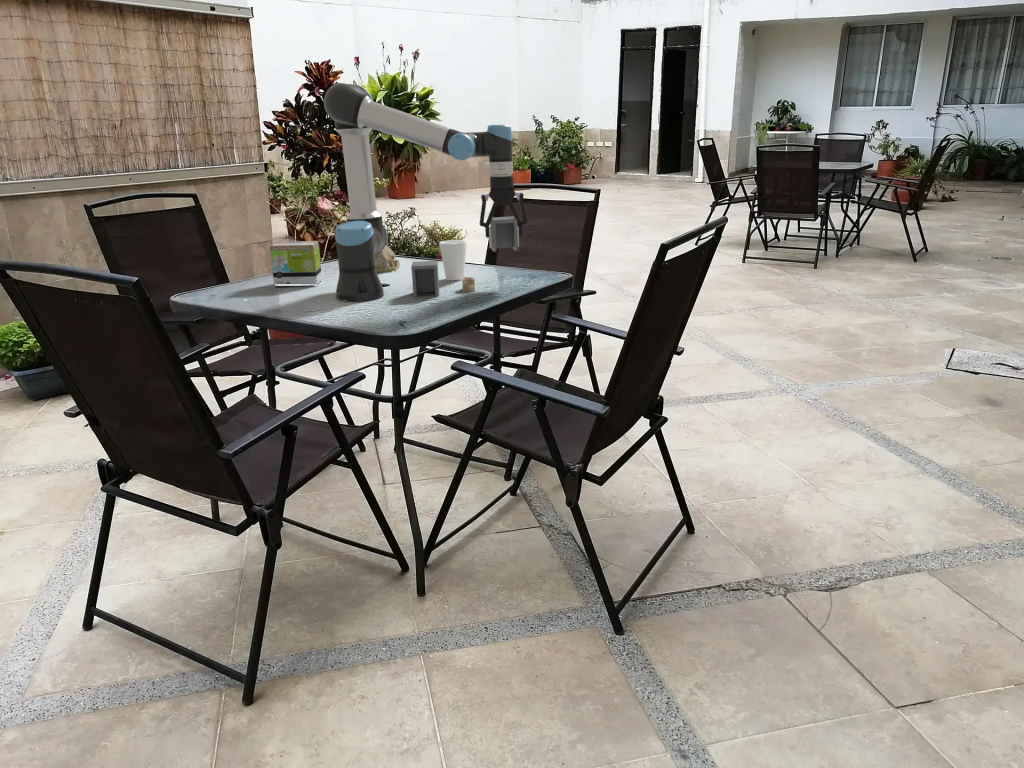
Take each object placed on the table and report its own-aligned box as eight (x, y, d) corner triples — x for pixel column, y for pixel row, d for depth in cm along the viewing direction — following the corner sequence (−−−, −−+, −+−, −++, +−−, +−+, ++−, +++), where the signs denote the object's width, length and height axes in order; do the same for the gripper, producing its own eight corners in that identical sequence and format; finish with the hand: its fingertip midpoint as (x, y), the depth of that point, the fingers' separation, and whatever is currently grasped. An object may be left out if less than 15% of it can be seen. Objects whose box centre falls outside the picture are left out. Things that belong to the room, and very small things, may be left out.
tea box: (274, 288, 270) (268, 245, 266) (281, 282, 280) (275, 241, 275) (317, 286, 271) (312, 243, 266) (323, 281, 280) (318, 239, 275)
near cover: (413, 297, 249) (411, 266, 245) (415, 292, 256) (412, 261, 253) (438, 296, 249) (436, 265, 246) (439, 291, 257) (437, 260, 253)
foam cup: (470, 276, 279) (468, 239, 275) (466, 281, 271) (464, 243, 266) (444, 276, 280) (441, 240, 276) (439, 281, 272) (436, 244, 267)
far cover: (493, 251, 252) (492, 220, 249) (491, 248, 260) (489, 217, 256) (518, 250, 253) (517, 219, 250) (515, 246, 260) (514, 216, 257)
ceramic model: (391, 273, 290) (389, 246, 286) (363, 273, 292) (360, 246, 289) (404, 266, 303) (402, 241, 299) (377, 266, 305) (375, 241, 302)
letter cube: (462, 291, 255) (462, 279, 253) (462, 289, 259) (462, 276, 257) (475, 291, 255) (474, 278, 254) (474, 288, 259) (474, 276, 257)
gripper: (468, 177, 245) (472, 250, 252) (535, 174, 246) (537, 247, 253) (468, 176, 252) (472, 246, 259) (533, 173, 253) (535, 243, 260)
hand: (504, 246), depth 256 cm, fingers closed on far cover, 8 cm apart
